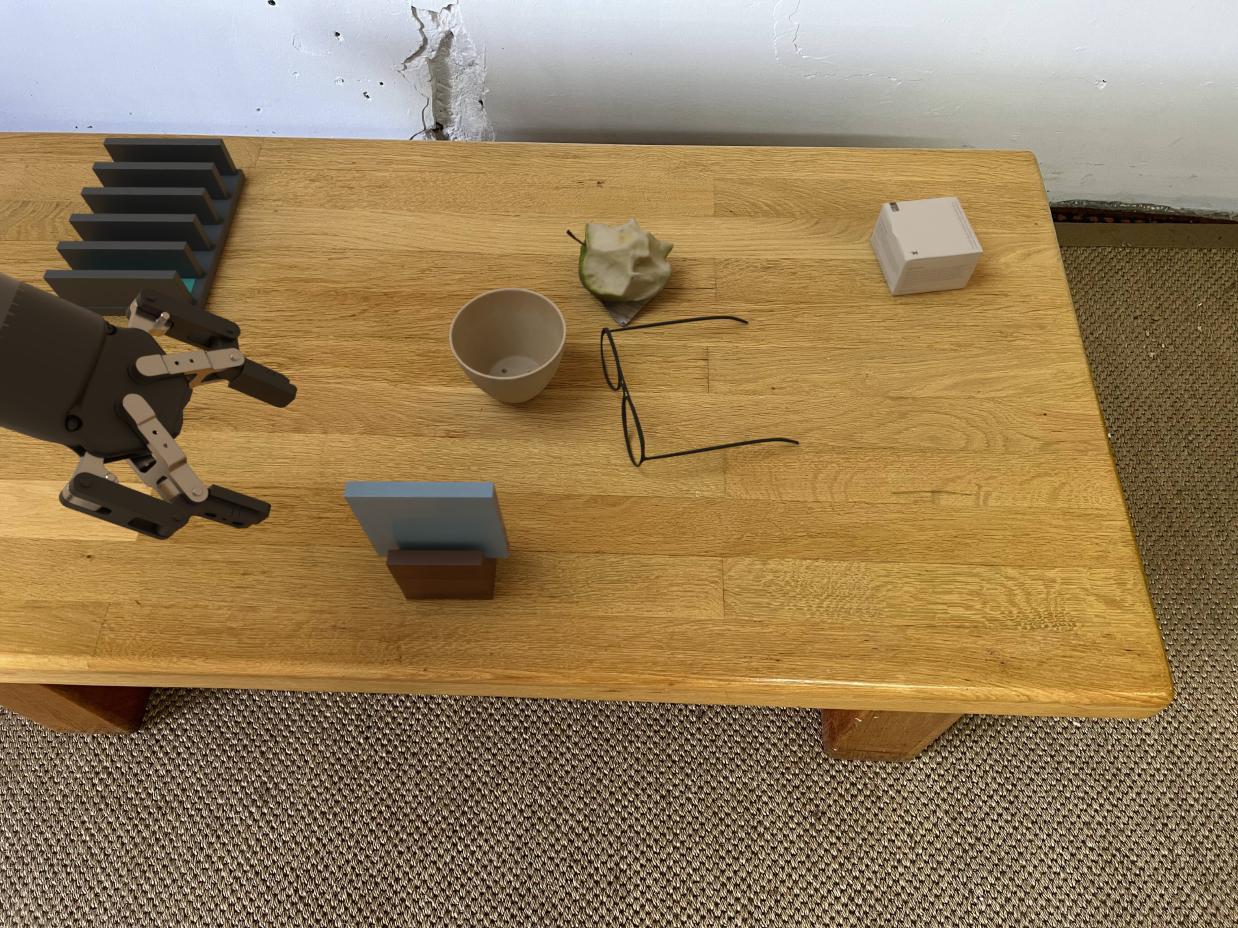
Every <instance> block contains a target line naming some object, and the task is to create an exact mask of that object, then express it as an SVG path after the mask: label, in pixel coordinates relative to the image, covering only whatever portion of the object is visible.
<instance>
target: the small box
mask: <svg viewBox="0 0 1238 928" xmlns="http://www.w3.org/2000/svg"><path fill="white" fill-rule="evenodd" d="M960 202H961V201H960V200H959V198H958V196H941V197H932V198H924V199H915V200H903V201H894V202H884V203H883V204H882V206H881V209H880V212H879V214H878V218H877V219H876V223H875V226H874V229H873V231H872V234H871V237H870V243H871V247H872V248H873V251H874V254H875V256H876V258H877V261H878V263H879V266H880V269H881V271H882V274H883V276H884V279H885V281H886V284H887V286H888V289H889V291H890V294H891V296H902V295H903V296H905V295H913V294H914V295H915V294H923V293H930V292H939V291H941V292H942V291H950V290H959V289H965V288H966V287H967V284H968V283H969V281H970V278H971V276H972V275H973V273H974V271H975V268H976V267H977V264H978V263H979V261H980V259H981V257H982V255H983V253H984V249H983V247H982V245H981V243H980V241H979V239H978V237H977V235H976V233H975V231H974V229H973V227H972V225H971V223H970V221H969V219H968V217H967V215H966V212H965V211H964V208H963V206H962V204H961V203H960Z"/></svg>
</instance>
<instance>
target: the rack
mask: <svg viewBox="0 0 1238 928" xmlns="http://www.w3.org/2000/svg"><path fill="white" fill-rule="evenodd" d="M102 145H103V147H104V149H105V150H106V152H107V153H108V154H109V156H110V158H111V160H112V161H94V162H93V164H92V167H91V170H92V171H93V173H94V174H95V176H96V177H97V179H98V180H99V182H100V183H101V185H102V186H83V187H82V189H81V191H80V196H81V197H82V199H83V200H84V202H85V203H86V205H87V207H89V209H90V210H91V212H92V213H71V214H70V216H69V219H68V223H69V224H70V226H72V228H73V229H74V231H76V233H77V235H79V237H80V239H81V240H59V241H58V243H57V245H56V248H55V249H56V250H57V253H59V255H60V256H61V257H62V258H63V260H64V261H65V262H66V264H67V265H68V266H69V267H70V269H46V270H45V272H44V274H43V277H42V279H43V280H44V281H45V283H46V284H48V286H49V287H50V289H52V291H53V292H54V293H55V294H56V296H58V297H60V298H62V299H65V300H67V301H69V302H72V303H74V304H76V305H79V306H81V307H83V308H86V309H88V310H90V311H93V312H95V313H97V314H100V315H101V316H126V310H127V309H128V307H129V306H130V305H131V304H132V302H133V301H134V300H135V298H136V297H137V296H138V294H139V293H140V292H141V291H142V290H143V289H145V288H151V289H154V290H156V291H159V292H161V293H164V294H166V295H169V296H171V297H174V298H176V299H179V300H181V301H183V302H186V303H188V304H191V305H193V306H196V307H198V308H201V309H203V310H205V308H206V304H207V301H208V298H209V294H210V291H211V288H212V285H213V282H214V279H215V276H216V273H217V269H218V267H219V263H220V261H221V257H222V253H223V250H224V248H225V244H226V241H227V238H228V235H229V232H230V229H231V225H232V223H233V219H234V216H235V213H236V210H237V206H238V204H239V200H240V198H241V194H242V192H243V188H244V185H245V181H246V178H247V177H246V174H245V173H244V170H243V169H242V168H237V166H236V164H235V162H234V160H233V158H232V156H231V154H230V152H229V150H228V148H227V146H226V143H225V141H224V139H223V138H219V137H218V138H215V137H214V138H213V137H212V138H211V137H209V138H206V137H203V138H202V137H105V138H104V140H103V142H102Z"/></svg>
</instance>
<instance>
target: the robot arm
mask: <svg viewBox="0 0 1238 928" xmlns="http://www.w3.org/2000/svg"><path fill="white" fill-rule="evenodd" d="M125 317H126V319H127V320H128V324H127V327H123V326H117V325H113V324H111V323H110V322H108V321H107V320H106V319H105V318H104V317H103V315H100V314H97V313H95V312H93V311H90V310H88V309H86V308H83V307H81V306H79V305H76V304H74V303H72V302H69V301H67V300H65V299H62V298H60V297H59V296H58V295H55V294H53V293H50V292H48V291H45V290H44V289H41V288H39V287H37V286H34V285H32V284H30V283H27V282H25V281H22V280H20V279H17V278H15V277H12V276H10V275H8V274H5V273H3V272H1V271H0V428H3V429H6V430H9V431H12V432H15V433H18V434H21V435H24V436H27V437H30V438H33V439H36V440H39V441H43V442H47V443H53V444H56V445H57V444H58V445H61V446H64V447H66V448H68V450H70V451H72V452H73V453H75V455H77V456H78V457H79V461H78V462H77V465H76V468H75V470H74V472H73V474H72V476H71V478H70V480H69V481H68V482H67V483H66V484H65V486H64V487H63V488H62V489H61V491H60V492H59V494H58V501H59V503H60V504H61V505H62V506H63V507H65V508H67V509H69V510H72V511H76V512H78V513H81V514H84V515H87V516H90V517H92V518H95V519H99V520H101V521H105V522H106V523H109V524H113V525H115V526H118V527H122V528H125V529H127V530H129V531H133V532H136V533H138V534H140V535H144V536H147V537H150V538H152V539H156V540H158V541H167V540H168V539H170V538H171V537H172V536H174V534H175V533H177V532H178V531H179V530H181V529H183V528H184V527H185V526H187V525H188V524H189V522H190V518H191V517H199V518H202V519H205V520H209V521H212V522H214V523H219V524H222V525H225V526H229V527H231V528H234V529H236V530H245V529H249V528H250V527H251V526H253V525H254V526H255V525H259V524H261V523H263V522H265V520H267V519H268V518H269V517H270V514H271V510H272V505H271V503H270V502H267V501H264V500H261V499H259V498H256V497H252V496H250V495H247V494H244V493H241V492H239V491H235V490H233V489H229V488H226V487H223V486H220V485H217V484H214V483H212V484H211V485H209V487H207V486H206V485H205V483H204V482H203V481H202V479H200V477H199V476H198V475H197V474H196V473H195V471H194V470H193V469H192V468H191V466H190V465H189V463H188V457H187V455H186V453H185V451H184V450H183V449H182V447H180V445H179V444H178V442H177V441H176V440H175V439H177V437H179V435H181V431H182V429H183V425H184V410H185V408H186V407H187V405H188V404H189V403H190V401H191V399H192V395H193V392H194V389H195V388H197V387H199V386H205V385H206V386H207V385H211V384H215V383H221V382H225V381H227V382H228V383H227V386H226V387H227V388H229V389H231V390H233V391H237V392H238V393H241V394H243V395H246V396H248V397H250V398H254V399H256V400H258V401H260V402H263V403H266V404H268V405H270V406H272V407H275V408H279V409H284V408H287V407H288V406H289V405H290V404H291V403H292V402H293V401H295V400H296V397H297V393H298V387H297V386H296V385H294V384H292V383H291V380H290V379H289V378H288V376H286V375H285V374H284V373H281V372H279V371H277V370H274V369H272V368H269V367H267V366H265V365H263V364H260V363H258V362H256V361H254V360H251V359H249V358H247V357H246V356H245V355H244V353H243V352H242V351H241V349H240V343H239V337H240V336H241V334H242V333H241V332H242V331H241V327H240V325H238V323H236V322H235V321H232V320H230V319H227V318H225V317H222V316H221V315H218V314H215V313H214V312H211V311H208V310H205V309H204V310H203V309H201V308H198V307H196V306H193V305H191V304H188V303H186V302H183V301H181V300H179V299H176V298H174V297H171V296H169V295H166V294H164V293H161V292H159V291H156V290H154V289H151V288H145V289H143V290H142V291H141V292H140V293H139V294H138V296H137V297H136V298H135V300H134V301H133V302H132V304H131V305H130V306H129V307H128V309H127V310H126V315H125ZM163 336H166V337H168V338H171V339H174V340H176V341H179V342H180V343H184V344H186V345H190V346H192V347H195V348H197V349H196V350H190V351H182V352H176V353H166V351H165V350H164V349H163V347H162V346H161V345H160V344H159V343H158V341H157V340H156V339H155V338H154V337H163ZM121 461H125V463H126V464H127V465H128V466H129V468H130V469H131V470H132V471H133V472H134V473H135V475H136V476H137V477H138V478H139V479H140V481H141V482H142V483H143V485H145V486H146V487H147V488H152V489H153V490H154V491H155V492H156V493H157V494H158V495H159V497H160V498H161V499H160V498H158V497H155V496H152V495H150V494H147V493H145V492H142V491H140V490H137V489H134V488H131V487H129V486H126V485H124V484H121V483H120V481H119V478H118V476H117V475H115V473H113V472H111V471H109V470H108V469H107V468H106V467H105V465H107V464H111V463H115V462H121Z"/></svg>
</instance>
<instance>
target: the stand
mask: <svg viewBox="0 0 1238 928" xmlns="http://www.w3.org/2000/svg"><path fill="white" fill-rule="evenodd" d="M497 560H498V558H485V555H484V552H483V550H388V555H387V557H386V563H385V565H386V567H387V569H388V570H389V572H390V574H391V575H392V577H393V579H394V580H395V582H396V584H397V586H398V587H399V589H400V591H401V592H402V594H403V596H404V598H405V599H406V600H449V601H450V600H451V601H453V600H454V601H455V600H456V601H457V600H459V601H460V600H462V601H463V600H464V601H465V600H467V601H468V600H469V601H470V600H473V601H476V600H477V601H482V600H483V601H493V600H494V598H495V586H496V585H495V584H496V575H497V574H496V573H497V563H498V562H497Z"/></svg>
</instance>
